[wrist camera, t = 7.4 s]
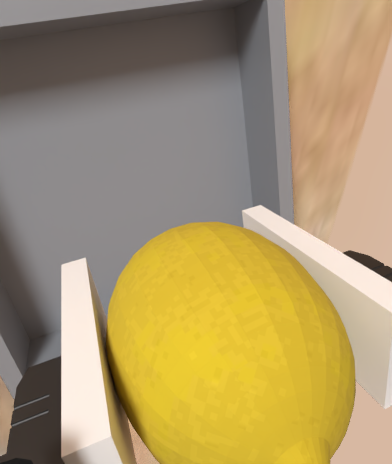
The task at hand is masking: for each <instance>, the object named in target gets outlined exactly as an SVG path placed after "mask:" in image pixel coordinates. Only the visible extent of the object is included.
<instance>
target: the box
mask: <svg viewBox="0 0 392 464" xmlns="http://www.w3.org/2000/svg"><path fill="white" fill-rule="evenodd" d="M259 205H262V206H263V207H265V208H267V209H268V210H270V211H272V212H273V213H275V214H277V215H279V216H280V217H282V218H284V219H285V220H287V221H289V222H290V223H292V224H294V210H293V187H292V164H291V141H290V118H289V95H288V71H287V48H286V25H285V2H284V0H0V376H1V377H2V379H3V381H4V383H5V385H6V386H7V388H8V390H9V392H10V394H11V395H12V397H13V399H15V394H16V387H17V386H18V384H19V382H20V381H21V379H22V377H23V376H24V374H25V372H26V370H27V369H28V368H29V367H31V366H34V365H37V364H40V363H42V362H45V361H48V360H51V359H53V358H56V357H59V356H61V265H62V264H65V263H69V262H72V261H75V260H79V259H82V258H85V257H86V260H87V263H88V266H89V269H90V271H91V274H92V277H93V280H94V283H95V286H96V289H97V292H98V295H99V298H100V300H101V303H102V306H103V309H104V312H105V315H106V318H107V317H108V307H109V303H110V299H111V296H112V294H113V291H114V288H115V286H116V283H117V280H118V278H119V276H120V274H121V272H122V271H123V270H124V268H125V267H126V265H127V264H128V262H129V261H130V259H131V258H132V256H133V255H134V254H135V253H136V252H137V251H138V250H140V249H141V248H142V247H143V246H144V245H145V244H146V243H147V242H148V241H150V240H151V239H153V238H154V237H156V236H158V235H160V234H162V233H163V232H165V231H167V230H169V229H171V228H175V227H178V226H182V225H185V224H188V223H194V222H222V223H227V224H231V225H235V226H239V227H243V228H244V225H243V216H242V210H245V209H249V208H252V207H255V206H259Z"/></svg>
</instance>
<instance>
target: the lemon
mask: <svg viewBox="0 0 392 464" xmlns="http://www.w3.org/2000/svg"><path fill="white" fill-rule="evenodd" d="M106 349H107V357H108V361H109V365H110V369H111V373H112V376H113V380H114V384H115V388H116V392H117V394H118V397H119V400H120V402H121V405H122V407H123V409H124V411H125V413H126V415H127V417H128V419H129V421H130V422H131V424H132V426H133V428H134V429H135V431H136V432H137V433H138V435H139V436H140V438H141V439H142V441H143V442H144V444H145V445H146V446H147V448H148V449H149V451H150V452H151V453H152V455H153V456H154V457H155V459H156V460H157V461H158V462H159V463H160V464H330V459H331V457H332V456H333V455H334V453H335V452H336V450H337V449H338V447H339V446H340V444H341V442H342V440H343V438H344V436H345V434H346V431H347V428H348V425H349V422H350V418H351V414H352V411H353V407H354V399H355V359H354V355H353V351H352V347H351V344H350V341H349V338H348V335H347V332H346V329H345V327H344V324H343V322H342V320H341V318H340V316H339V313H338V312H337V310H336V308H335V307H334V305H333V303H332V302H331V300H330V299H329V298H328V296H327V295H326V293H325V292H324V291H323V289H322V288H321V287H320V286H319V285H318V283H317V282H316V281H315V280H314V279H313V277H312V276H311V275H310V274H309V273H308V271H307V270H306V269H305V268H304V267H303V266H302V265H301V264H300V263H299V262H298V261H297V259H296V258H295V257H293V256H292V255H291V254H290V253H289V252H287V251H286V250H285V249H283V248H282V247H280V246H279V245H277V244H275V243H274V242H272V241H270V240H268V239H267V238H265V237H263V236H262V235H260V234H258V233H256V232H254V231H252V230H249V229H246V228H243V227H239V226H235V225H231V224H227V223H222V222H194V223H188V224H185V225H182V226H178V227H175V228H171V229H169V230H167V231H165V232H163V233H162V234H160V235H158V236H156V237H154V238H153V239H151V240H150V241H148V242H147V243H146V244H145V245H144V246H143V247H142V248H141V249H140V250H138V251H137V252H136V253H135V254H134V255H133V256H132V258H131V259H130V261H129V262H128V264H127V265H126V267H125V268H124V270H123V271H122V272H121V274H120V276H119V278H118V280H117V283H116V286H115V288H114V291H113V294H112V296H111V299H110V303H109V307H108V317H107V330H106Z"/></svg>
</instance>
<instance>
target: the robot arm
mask: <svg viewBox="0 0 392 464" xmlns="http://www.w3.org/2000/svg"><path fill="white" fill-rule="evenodd" d="M242 216H243V225H244V228H246V229H249V230H252V231H254V232H256V233H258V234H260V235H262V236H263V237H265V238H267V239H268V240H270V241H272V242H274V243H275V244H277V245H279V246H280V247H282V248H283V249H285V250H286V251H287V252H289V253H290V254H291V255H292V256H293V257H295V258H296V259H297V261H298V262H299V263H300V264H301V265H302V266H303V267H304V268H305V269H306V270H307V271H308V273H309V274H310V275H311V276H312V277H313V279H314V280H315V281H316V282H317V283H318V285H319V286H320V287H321V288H322V289H323V291H324V292H325V293H326V295H327V296H328V298H329V299H330V300H331V302H332V303H333V305H334V307H335V308H336V310H337V312H338V313H339V316H340V318H341V320H342V322H343V324H344V327H345V329H346V332H347V335H348V338H349V341H350V344H351V347H352V351H353V355H354V359H355V380H356V381H357V382H358V383H359V384H360V385H361V386H362V387H363V388H364V389H365V390H366V391H367V392H368V393H369V394H370V395H371V396H372V397H373V398H374V399H375V400H376V401H377V402H378V403H379V404H380V405H381V406H382V407H383V408H384V409H386V408H388V407H389V406H391V405H392V268H390V267H388V266H384V264H383V263H381V262H379V261H377V260H376V259H374V258H372V257H370V256H368V255H364V254H361V253H357V252H354V251H346V252H344V253H341V252H339V251H338V250H336V249H335V248H333V247H331V246H329V245H328V244H326V243H324V242H323V241H321V240H319V239H318V238H316V237H314V236H312V235H311V234H309V233H307V232H306V231H304V230H302V229H301V228H299V227H297V226H296V225H294V224H292V223H290V222H289V221H287V220H285V219H284V218H282V217H280V216H279V215H277V214H275V213H273V212H272V211H270V210H268V209H267V208H265V207H263V206H262V205H259V206H255V207H252V208H249V209H245V210H242ZM106 330H107V318H106V315H105V312H104V309H103V306H102V303H101V300H100V298H99V295H98V292H97V289H96V286H95V283H94V280H93V277H92V274H91V271H90V269H89V266H88V263H87V260H86V257H85V258H82V259H79V260H75V261H72V262H69V263H65V264H62V265H61V356H59V357H56V358H53V359H51V360H48V361H45V362H42V363H40V364H37V365H34V366H31V367H29V368H28V369H27V370H26V372H25V374H24V376H23V377H22V379H21V381H20V382H19V384H18V386H17V387H16V394H15V401H14V411H13V414H12V421H11V426H12V428H11V429H10V434H9V440H8V447H7V454H4V455H2V456H0V464H137V463H136V458H135V453H134V448H133V443H132V438H131V433H130V428H129V423H128V418H127V415H126V413H125V411H124V409H123V407H122V405H121V402H120V400H119V397H118V394H117V392H116V388H115V384H114V380H113V376H112V373H111V369H110V365H109V361H108V357H107V349H106Z"/></svg>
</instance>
